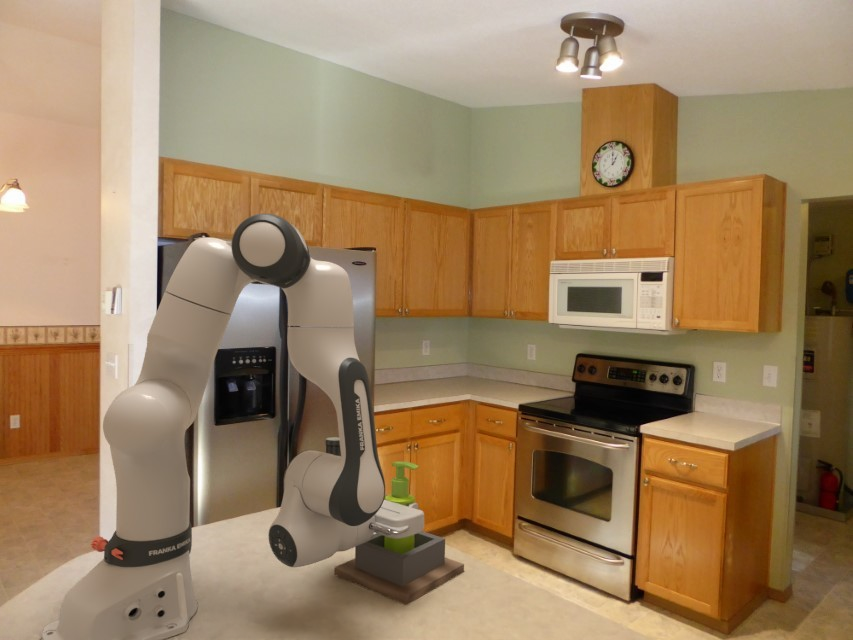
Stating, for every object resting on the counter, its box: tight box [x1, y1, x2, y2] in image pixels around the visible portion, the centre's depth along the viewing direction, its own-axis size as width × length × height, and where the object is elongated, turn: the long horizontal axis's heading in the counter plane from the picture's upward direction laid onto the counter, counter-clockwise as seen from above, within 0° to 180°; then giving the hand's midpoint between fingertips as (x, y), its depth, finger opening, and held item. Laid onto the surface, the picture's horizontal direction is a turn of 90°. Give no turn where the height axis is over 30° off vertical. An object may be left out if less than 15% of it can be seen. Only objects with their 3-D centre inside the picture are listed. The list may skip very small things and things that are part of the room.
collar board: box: [333, 530, 465, 606], centre depth 118 cm, size 18×18×6 cm
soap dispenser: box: [384, 460, 420, 554], centre depth 118 cm, size 6×7×20 cm
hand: (401, 502), depth 119 cm, fingers closed on soap dispenser, 6 cm apart
